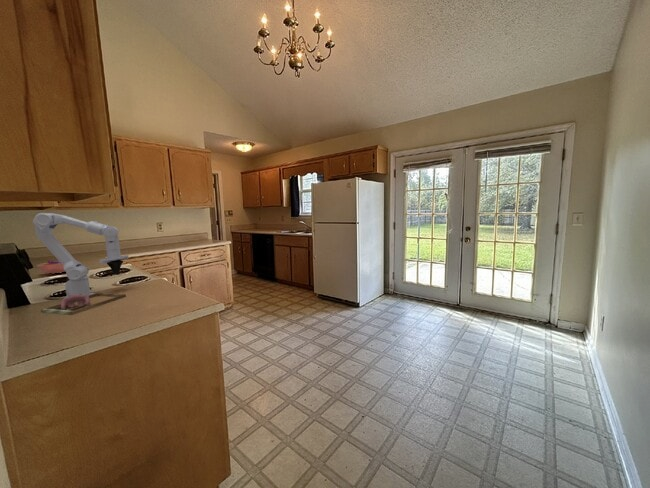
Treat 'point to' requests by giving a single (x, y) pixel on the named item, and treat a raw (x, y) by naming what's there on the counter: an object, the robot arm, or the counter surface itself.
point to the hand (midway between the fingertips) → (116, 274)
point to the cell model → (51, 267)
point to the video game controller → (75, 297)
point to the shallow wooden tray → (82, 308)
